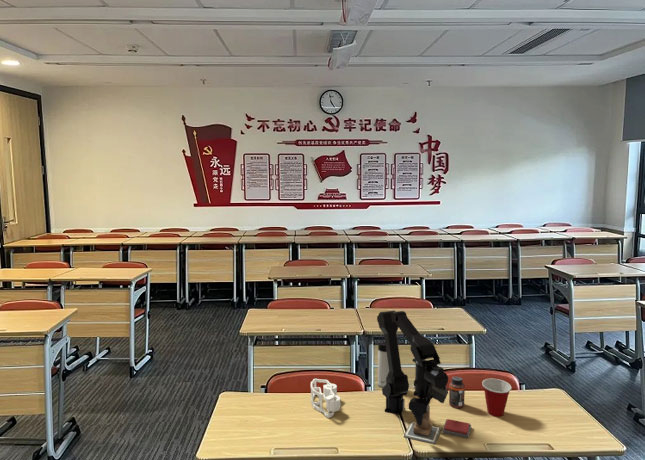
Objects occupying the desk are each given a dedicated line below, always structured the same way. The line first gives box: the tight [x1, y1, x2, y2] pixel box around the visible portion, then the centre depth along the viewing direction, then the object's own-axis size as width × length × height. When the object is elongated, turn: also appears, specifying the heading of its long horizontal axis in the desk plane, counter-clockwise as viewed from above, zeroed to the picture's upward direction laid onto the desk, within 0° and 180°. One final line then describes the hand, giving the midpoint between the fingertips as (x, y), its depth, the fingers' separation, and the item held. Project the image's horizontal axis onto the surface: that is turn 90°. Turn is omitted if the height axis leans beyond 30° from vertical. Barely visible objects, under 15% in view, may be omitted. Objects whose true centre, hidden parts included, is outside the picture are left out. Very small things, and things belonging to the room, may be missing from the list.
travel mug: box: [377, 341, 389, 389], centre depth 204 cm, size 6×7×20 cm
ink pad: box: [441, 418, 472, 439], centre depth 167 cm, size 9×8×2 cm
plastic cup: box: [481, 377, 513, 418], centre depth 178 cm, size 11×11×12 cm
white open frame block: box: [310, 378, 341, 419], centre depth 186 cm, size 20×11×7 cm, turn 6°
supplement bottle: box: [448, 376, 466, 409], centre depth 186 cm, size 6×6×11 cm
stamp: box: [413, 405, 433, 437], centre depth 164 cm, size 6×6×9 cm
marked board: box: [403, 421, 442, 445], centre depth 165 cm, size 11×11×1 cm
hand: (422, 419), depth 164 cm, fingers open, 9 cm apart
